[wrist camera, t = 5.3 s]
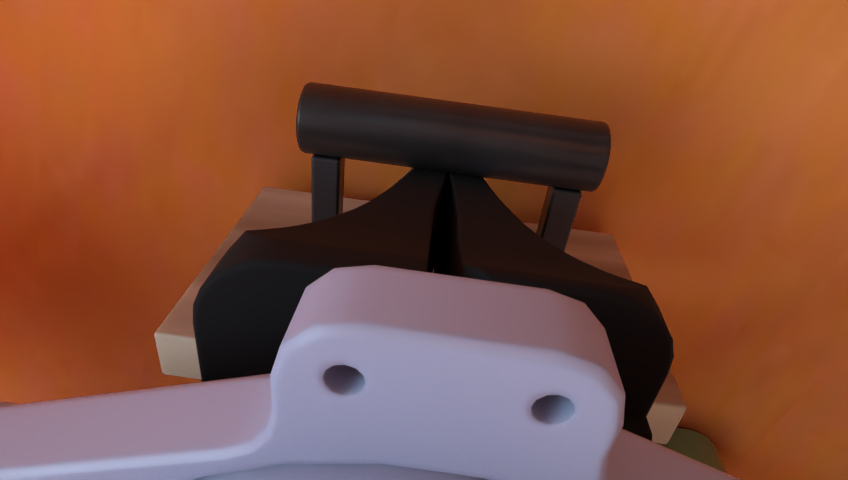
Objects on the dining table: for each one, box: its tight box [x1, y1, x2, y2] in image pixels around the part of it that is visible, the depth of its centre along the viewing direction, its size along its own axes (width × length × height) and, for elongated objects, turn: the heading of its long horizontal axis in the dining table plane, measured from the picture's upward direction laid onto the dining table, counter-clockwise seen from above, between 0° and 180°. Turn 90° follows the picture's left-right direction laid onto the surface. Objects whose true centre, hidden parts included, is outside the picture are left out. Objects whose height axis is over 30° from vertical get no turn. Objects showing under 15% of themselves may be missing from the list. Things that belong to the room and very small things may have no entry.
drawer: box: [154, 82, 687, 444], centre depth 16 cm, size 17×11×7 cm, turn 174°
